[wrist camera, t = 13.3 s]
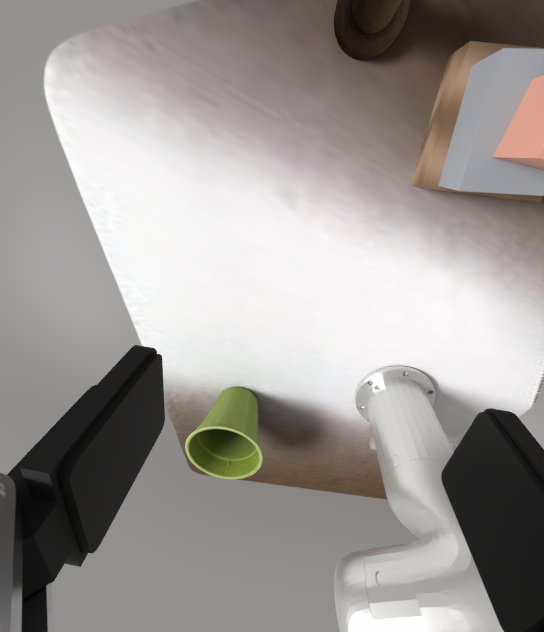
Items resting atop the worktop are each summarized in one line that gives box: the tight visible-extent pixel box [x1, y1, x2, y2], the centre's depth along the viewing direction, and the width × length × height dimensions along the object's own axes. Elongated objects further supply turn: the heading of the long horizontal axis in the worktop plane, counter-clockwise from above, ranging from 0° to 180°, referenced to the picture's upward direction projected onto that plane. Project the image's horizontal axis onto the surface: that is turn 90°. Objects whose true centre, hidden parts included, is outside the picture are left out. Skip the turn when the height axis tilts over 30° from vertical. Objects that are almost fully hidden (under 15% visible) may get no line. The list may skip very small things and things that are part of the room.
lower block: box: [411, 41, 544, 203], centre depth 31 cm, size 12×12×5 cm
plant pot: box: [185, 387, 263, 479], centre depth 50 cm, size 12×12×11 cm
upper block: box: [438, 48, 544, 196], centre depth 27 cm, size 10×10×5 cm
